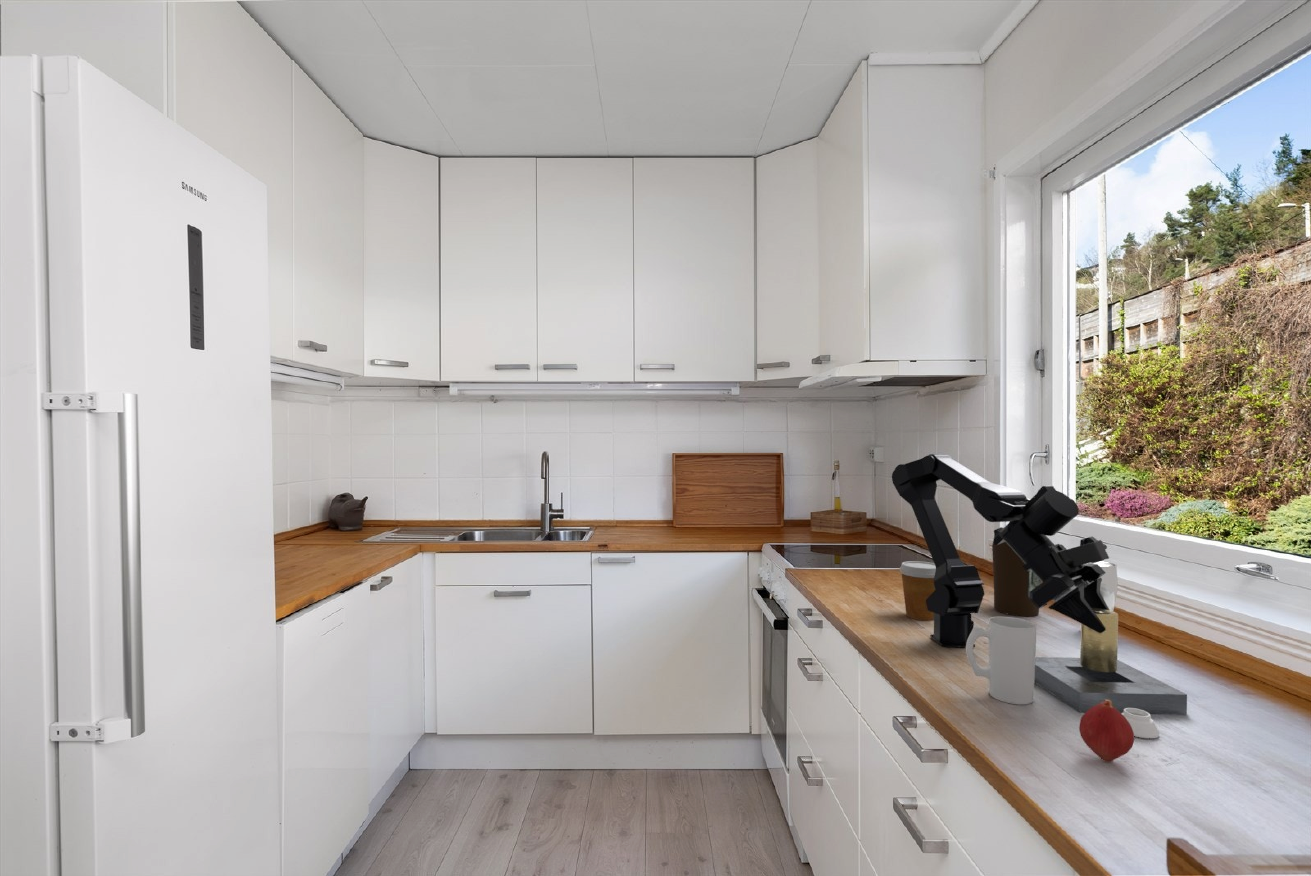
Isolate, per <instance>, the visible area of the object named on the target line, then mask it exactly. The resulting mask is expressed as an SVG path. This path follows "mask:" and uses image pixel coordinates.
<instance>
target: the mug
mask: <svg viewBox="0 0 1311 876" xmlns="http://www.w3.org/2000/svg"><path fill="white" fill-rule="evenodd" d="M1037 625H1038V624H1036V623H1035V622H1033V621H1031V620H1027V619H1023V618H1018V617H1013V616H993V617H989V618H988V628H983V627H982V626H979V625H975V624H974V626H973V630H972V632H971V633H970V635H969V637H968V640H967V643H966V647H965V652H966V656H967V661H968V663H969V664H970V665H969V666H970V667H971V670H972V672H973V674H974V676H976V677H983V678H986V679H988V692H989V695H990V696H991V697H992V698H994V699H996V700H998V701H1000V702H1004V703H1007V704H1012V705H1020V706H1021V705H1030V704H1032V703H1033V702H1034V697H1035V695H1034V694H1035V693H1034V691H1035V682H1034V680H1035V657H1036V652H1037V651H1036V650H1037V649H1036V648H1037V647H1036V646H1037ZM980 637H985V638H987V639H988V666H986V667H985V666H980V665H979V663H978V662H977V660H976V659H975V654H974V647H973V645H974V644H975V642H976V641H977V640H978V639H979V638H980Z"/></svg>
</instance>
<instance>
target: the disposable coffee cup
mask: <svg viewBox="0 0 1311 876" xmlns="http://www.w3.org/2000/svg"><path fill="white" fill-rule="evenodd" d="M899 571H900V573H901V579H902V588H903V597H904V605H905V607H904V608H905V614H906V615H905V616H906V617H908V618H910V619H914V620H919V621H934V613H933V612H931V611H928V609H927V605H926V599H927V598H928V597H929V596H930V595H931V594H932V593H933V592H934V591H935V586H934V582H933V581H934V576H935V571H936V566H935V564H934V562H928V561H921V560H920V561H919V560H918V561H916V560H913V561H911V560H910V561H909V560H908V561H903V562H901V566H900V567H899Z"/></svg>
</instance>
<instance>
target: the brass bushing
mask: <svg viewBox="0 0 1311 876" xmlns="http://www.w3.org/2000/svg"><path fill="white" fill-rule="evenodd" d="M1092 610H1093V611H1094V612H1095V614H1096V615H1097V617H1098V618H1099V619H1100V621H1101V622H1102V624H1103V625H1104V627H1105V628H1106V630H1105V631H1104V632H1102V633H1099V632H1097V631H1095V630H1093V629H1091V628H1089V627H1087V626H1085V625H1083V624H1081V623H1080V626H1081V632H1080V652H1079V654H1080V656H1079V658H1080V664H1081V665H1082V666H1083V667H1085V668H1088V669H1091V670H1094V671H1100V672H1116V671H1117V660H1118V648H1119V647H1118V646H1119V643H1118V641H1119V635H1118V634H1119V613H1117V612H1115V611H1114V610H1113V611H1110V610H1105V609H1099V608H1092Z"/></svg>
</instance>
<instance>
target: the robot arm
mask: <svg viewBox="0 0 1311 876" xmlns="http://www.w3.org/2000/svg"><path fill="white" fill-rule="evenodd" d="M891 480H892V484H893V486H894V488H895V489H896V491H897V493H898V495H899V496H900V497H901V498H902V499H903V500H904V501H906V502H907V503H908V504H909V505H910V506H911V508H912V510H913V513H914V515H915V518H916V520H917V521H916V522H917V523H918V526H919V528H920V530H921V533H922V535H923V538H924V540H925V543H926V546H927V549H928V551H929V553H930V556H931V558H932V561H933V563H934V564H935V566H936V571H935V576H934V581H933V582H934V586H935V591H934V592H933V593H932V594H931V595H930V596H929V597H928V598H927V599H926V605H927V609H928V611H931V612H933V613H934V620H933V634H930V639H932V640H933V641H935V642H936V643H937V644H938V645H940V646H942V647H946V648H948V647H949V648H955V647H956V648H966V643H967V640H968V637H969V635H970V633H971V632H972V630H973V626H974V625H975V622H974V620H973V619H972V614H978V613H979V611H980V608H981V604H982V602H983V599H984V596H985V589H984V586H983V585H985V582H983V580H982V578H981V577H980V575H979V571H978V568H977V567H976V566H975V565H973V564H970V565H967V564H966V563H964V562H963V561H962V559H961V557H960V556H959V552H958V550H957V548H956V546H955V543H954V541H953V539H952V536H951V533H950V531H949V528H948V527H947V524H946V522H945V519H944V516H943V515H942V512H941V509H940V508H939V505H938V503H937V501H936V498H935V497H936V493H937V488H938V484H937V482H938V481H940V480H941V481H943V482H944V483H945V484H947V485H948V486H949V487H951V488H953V489H954V490H956V491H957V492H958V493H960V494H962V495H963V496H965V497H967V498H968V499H969V500H970V501H971V502H972V506H973V508H974V509H975V511H976V512H977V513H978V514H979V515H980V516H981V517H983V519H984V520H986V521H987V522H990V523H1004V522H1005V523H1006V522H1007V524H1006V525H1005V526H1004V527H1002V526H1001V527H998V528H995V529H994V530H993V534H994V536H993V540H994V541H992V544H994V545H999V544H1001V543H1003V542H1006V543H1007V544H1008V545H1009V546H1010V547H1011V548H1012V549H1013V550H1014V552H1015V553H1016V554H1017V555H1018V556H1019V557H1020V558H1021V559H1022V560H1023V562H1024V563H1025V565H1024V566H1023V568H1024V569H1025V570H1026V571H1029V570H1032V571H1033V573H1034V574H1035V575H1036V576H1037V577H1038V578H1039V579H1040V580H1041V584H1040V585H1038V586H1037V587H1036V588H1034V589H1033V590H1032V591H1030V600H1031V601H1032V602H1033V603H1034V604H1035V606H1036V607H1037V608H1038V609H1039V610H1040V609H1041V608H1044V607H1046V606H1047V605H1048V603H1049V602H1051V601H1053V603H1052V604H1050V605H1049V606H1048V609H1050V610H1052V611H1055V612H1058V613H1059V614H1062V615H1064V616H1066V617H1067V618H1070V619H1072V620H1074V621H1076V622H1077V623H1080V625H1081V624H1083V625H1085V626H1087V627H1089V628H1091V629H1093V630H1095V631H1097V632H1099V633H1102V632H1104V631H1105V630H1106V628H1105V627H1104V625H1103V624H1102V622H1101V621H1100V619H1099V618H1098V617H1097V615H1096V614H1095V612H1094V611H1093V610H1092V608H1099V609H1105V610H1109V608H1108V606H1107V604H1106V603H1105V601H1104V599H1103V597H1102V595H1101V593H1100V586H1101V582H1102V578H1100V577H1101V576H1103V575H1104V574H1105V573H1106V572H1105V571H1104V570H1103V569H1102V568H1101V567H1100V566H1099V565H1098V564H1092V563H1096V562H1100V561H1102V562H1104V560H1108V559H1110V557H1109V555H1108V552H1107V549H1108V546H1107V545H1106V543H1105V544H1104V543H1103V541H1102V540H1101V539H1099V540H1098V539H1097V538H1095V537H1094V536H1093V535H1092V536H1087V537H1086V538H1082V539H1080V541H1079V545H1078V546H1074V547H1072V548H1068V549H1067V548H1066V547H1065V546H1064V545H1063V544H1060V543H1057V544H1054V542H1053V541H1052V539H1050V538H1049V537H1052V536H1055V535H1056V534H1058V533H1059V531H1061V530H1062V529H1063V528H1064V527H1065V526H1067V524H1069V523H1070V522H1071V521H1073V519H1074V518H1076V517H1077V516H1078V515H1079V514H1080V508H1079V506H1078V504H1077V503H1076V502H1075V500H1074V499H1072V498H1070V497H1069V496H1067V494H1065V493H1064V492H1061V491H1059V490H1056V488H1055V487H1054V486H1053V485H1042V486H1041V487H1040V488H1039V489H1038V490H1037V492H1036V493H1035V494H1034V495H1033V496H1032V497H1031V498H1028V497H1027V496H1026V494H1024V493H1023V492H1022V491H1020V490H1017V489H1014V488H1012V487H1009V486H1006V485H1002V484H998V483H997V484H996V483H994V482H991V481H989V480H987V479H985V478H983V477H982V476H980V475H979V474H977V473H976V472H974V471H972V470H971V469H969V468H968V467H967V466H966V467H965V466H964V465H963V464H961V463H959V462H958V461H956V460H954V459H953V457H952V456H951V455H948V454H946V453H941V454H939V453H930V454H928V455H925V456H924V457H922V458H919V459H916V460H912V461H910V462H906V463H904V464H903V463H901V464H898V465H897V466H896V467H895V468H894V470H893V471H892V474H891ZM1009 522H1010V523H1009ZM1008 523H1009V524H1008ZM1087 563H1088V564H1087ZM1083 564H1085V565H1083ZM1098 578H1099V579H1098ZM975 647H976V644H975V643H974V645H973V648H975Z"/></svg>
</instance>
